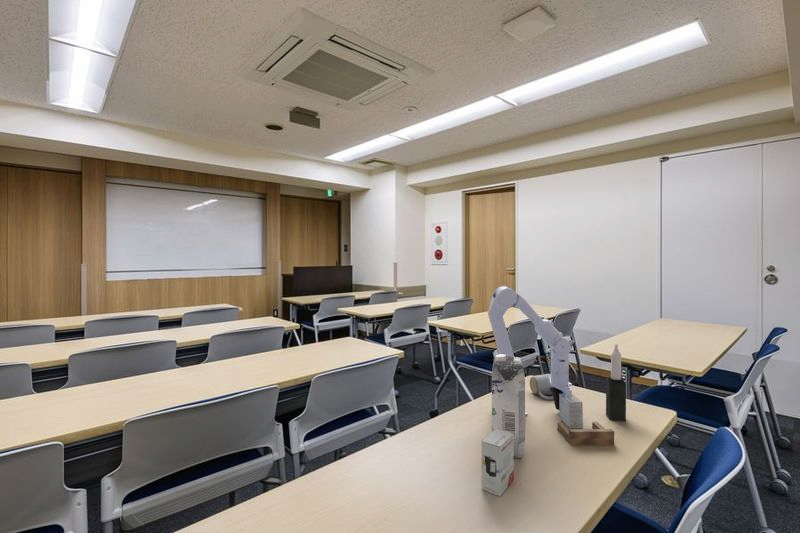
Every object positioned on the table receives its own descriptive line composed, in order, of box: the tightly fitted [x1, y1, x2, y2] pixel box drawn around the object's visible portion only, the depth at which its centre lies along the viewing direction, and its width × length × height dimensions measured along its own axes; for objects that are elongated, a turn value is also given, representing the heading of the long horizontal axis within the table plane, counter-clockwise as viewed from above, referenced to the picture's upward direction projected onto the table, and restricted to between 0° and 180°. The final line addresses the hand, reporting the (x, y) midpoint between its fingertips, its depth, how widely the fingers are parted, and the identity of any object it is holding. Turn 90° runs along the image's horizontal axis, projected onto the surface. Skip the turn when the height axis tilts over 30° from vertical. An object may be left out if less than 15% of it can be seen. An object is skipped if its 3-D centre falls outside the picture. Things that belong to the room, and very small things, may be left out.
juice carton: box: [491, 354, 526, 459], centre depth 106 cm, size 9×10×27 cm
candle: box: [605, 343, 627, 422], centre depth 125 cm, size 5×5×25 cm
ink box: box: [481, 429, 515, 497], centre depth 90 cm, size 9×5×12 cm, turn 141°
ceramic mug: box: [529, 373, 554, 401], centre depth 146 cm, size 11×8×8 cm
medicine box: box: [558, 393, 584, 429], centre depth 122 cm, size 8×4×9 cm, turn 179°
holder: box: [556, 421, 615, 446], centre depth 113 cm, size 12×10×4 cm
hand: (559, 409), depth 130 cm, fingers closed
